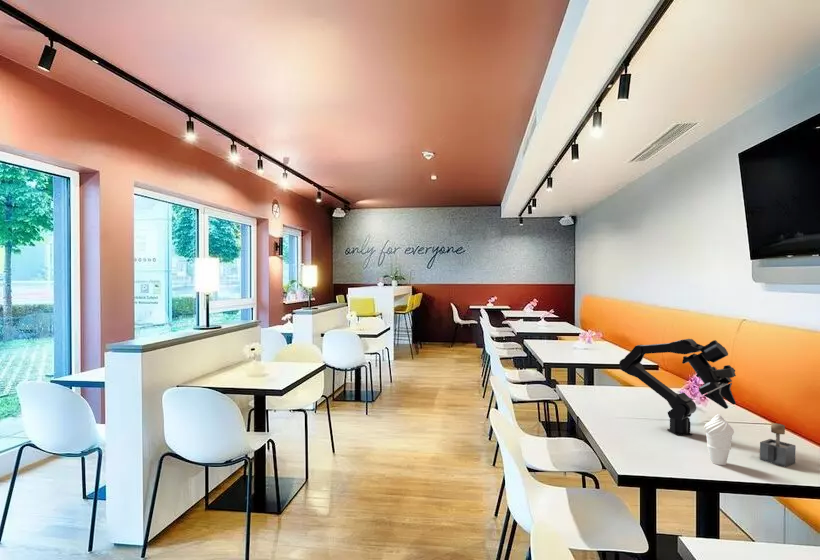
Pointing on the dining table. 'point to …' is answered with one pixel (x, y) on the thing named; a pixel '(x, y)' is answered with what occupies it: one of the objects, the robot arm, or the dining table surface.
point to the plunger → (777, 433)
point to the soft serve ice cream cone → (718, 439)
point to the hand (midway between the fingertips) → (730, 406)
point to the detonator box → (777, 453)
